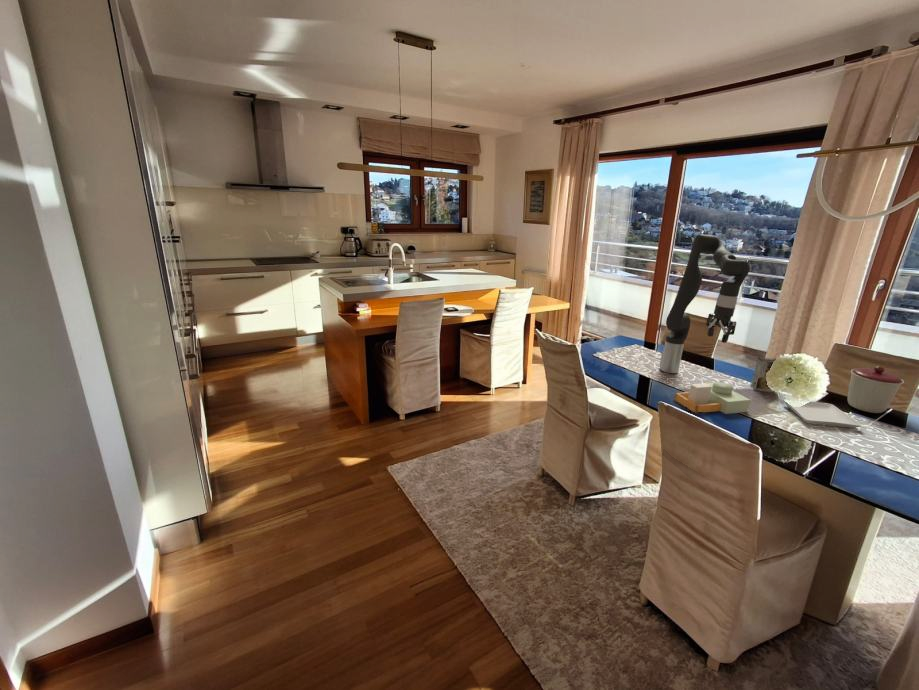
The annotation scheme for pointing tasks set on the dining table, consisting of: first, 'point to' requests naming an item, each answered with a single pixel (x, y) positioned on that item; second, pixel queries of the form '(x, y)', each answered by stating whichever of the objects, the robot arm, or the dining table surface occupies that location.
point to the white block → (699, 393)
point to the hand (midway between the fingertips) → (716, 339)
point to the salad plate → (823, 414)
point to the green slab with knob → (717, 400)
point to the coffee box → (762, 374)
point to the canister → (872, 389)
